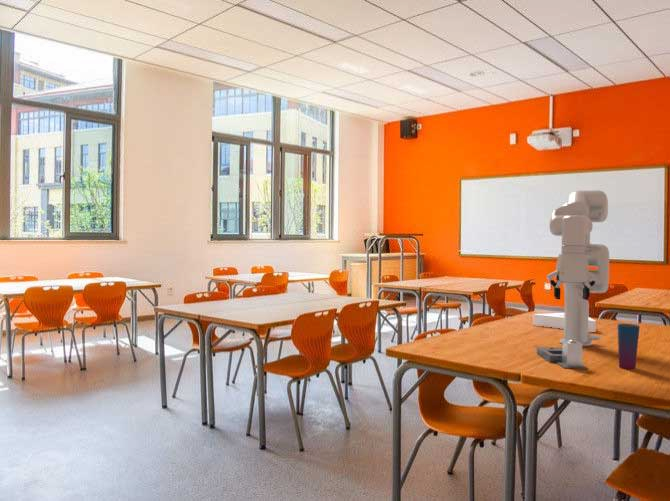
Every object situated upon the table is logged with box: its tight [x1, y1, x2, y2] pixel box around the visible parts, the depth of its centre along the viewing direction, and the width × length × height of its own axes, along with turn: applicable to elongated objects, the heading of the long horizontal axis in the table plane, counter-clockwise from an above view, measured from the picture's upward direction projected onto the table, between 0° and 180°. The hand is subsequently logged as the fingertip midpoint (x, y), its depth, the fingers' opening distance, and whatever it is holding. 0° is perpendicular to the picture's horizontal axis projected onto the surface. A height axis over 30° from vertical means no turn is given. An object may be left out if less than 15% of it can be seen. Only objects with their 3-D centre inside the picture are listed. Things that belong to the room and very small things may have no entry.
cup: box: [617, 322, 640, 370], centre depth 194 cm, size 7×7×15 cm
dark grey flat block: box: [536, 346, 562, 363], centre depth 208 cm, size 10×15×3 cm, turn 177°
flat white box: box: [532, 312, 597, 334], centre depth 283 cm, size 30×26×6 cm
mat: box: [555, 362, 589, 370], centre depth 195 cm, size 8×8×1 cm
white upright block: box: [561, 340, 583, 367], centre depth 195 cm, size 5×5×9 cm
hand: (571, 299), depth 196 cm, fingers open, 9 cm apart
